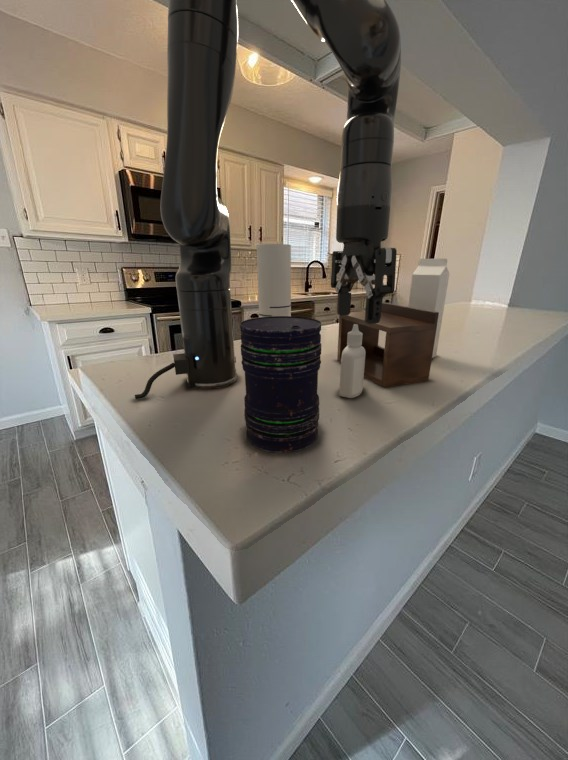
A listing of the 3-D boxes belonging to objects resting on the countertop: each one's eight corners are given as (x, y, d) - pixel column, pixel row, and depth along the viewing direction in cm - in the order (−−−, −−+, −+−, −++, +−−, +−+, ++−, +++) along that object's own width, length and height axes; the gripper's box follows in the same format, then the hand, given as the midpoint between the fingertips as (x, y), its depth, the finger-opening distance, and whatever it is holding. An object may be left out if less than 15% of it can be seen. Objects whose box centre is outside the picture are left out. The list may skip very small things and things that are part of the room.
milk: (427, 361, 73) (443, 258, 66) (401, 356, 77) (413, 258, 69) (436, 356, 78) (452, 258, 70) (411, 351, 81) (424, 258, 74)
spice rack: (384, 387, 59) (392, 315, 54) (337, 360, 75) (339, 303, 70) (428, 380, 62) (439, 312, 57) (373, 356, 78) (378, 301, 73)
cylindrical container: (290, 364, 72) (290, 244, 64) (259, 364, 73) (254, 244, 64) (290, 355, 79) (290, 245, 70) (261, 355, 79) (258, 245, 71)
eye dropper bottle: (371, 394, 56) (378, 325, 52) (345, 400, 53) (350, 328, 49) (355, 386, 60) (360, 321, 55) (330, 391, 57) (333, 324, 53)
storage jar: (232, 428, 45) (224, 321, 40) (289, 410, 50) (289, 313, 45) (271, 463, 37) (268, 335, 32) (334, 437, 42) (340, 324, 37)
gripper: (318, 212, 52) (317, 314, 57) (369, 196, 39) (361, 328, 45) (358, 213, 54) (353, 311, 60) (419, 198, 41) (405, 324, 47)
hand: (357, 318), depth 52 cm, fingers open, 8 cm apart
